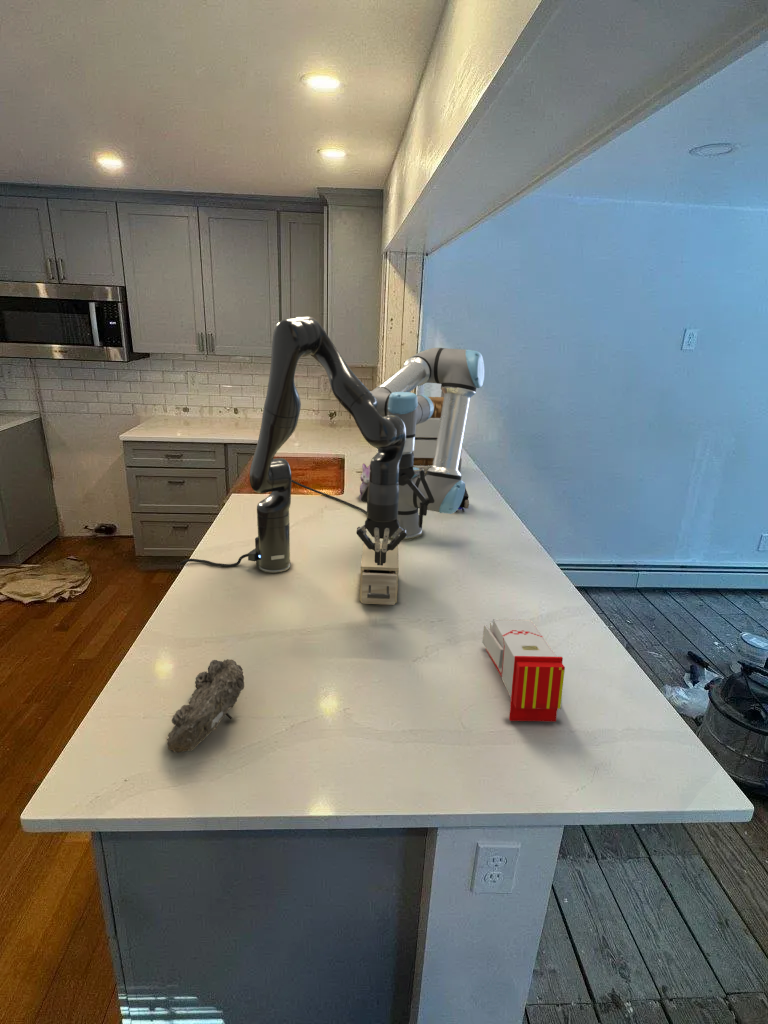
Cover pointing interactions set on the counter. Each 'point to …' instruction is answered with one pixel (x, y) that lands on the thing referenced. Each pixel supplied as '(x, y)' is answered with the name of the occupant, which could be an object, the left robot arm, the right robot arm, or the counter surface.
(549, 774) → the counter surface
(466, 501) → the figurine character
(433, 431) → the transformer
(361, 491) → the figurine
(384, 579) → the drawer
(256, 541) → the left robot arm
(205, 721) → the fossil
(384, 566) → the cabinet
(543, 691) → the toy
